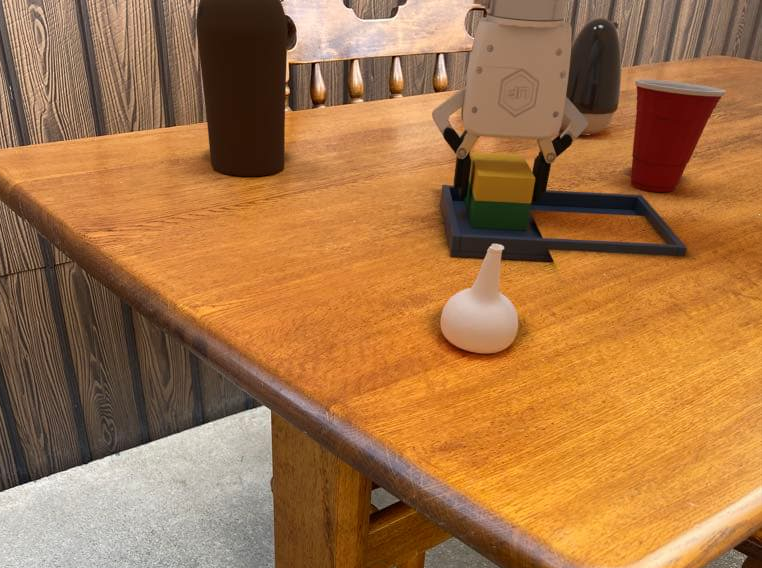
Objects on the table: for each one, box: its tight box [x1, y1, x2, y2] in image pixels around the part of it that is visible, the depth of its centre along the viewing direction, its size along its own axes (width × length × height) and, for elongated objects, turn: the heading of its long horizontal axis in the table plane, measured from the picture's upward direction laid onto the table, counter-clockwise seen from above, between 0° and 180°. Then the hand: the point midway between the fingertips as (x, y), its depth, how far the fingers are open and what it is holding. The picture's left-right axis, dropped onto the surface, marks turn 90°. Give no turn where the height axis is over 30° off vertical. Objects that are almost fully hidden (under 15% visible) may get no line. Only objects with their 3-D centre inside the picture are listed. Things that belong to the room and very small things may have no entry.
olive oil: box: [195, 0, 289, 177], centre depth 93 cm, size 11×11×25 cm
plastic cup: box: [630, 78, 727, 193], centre depth 99 cm, size 11×11×12 cm
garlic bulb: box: [440, 244, 519, 354], centre depth 62 cm, size 6×6×8 cm
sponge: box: [464, 152, 535, 231], centre depth 86 cm, size 9×6×5 cm, turn 179°
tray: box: [439, 184, 688, 263], centre depth 86 cm, size 24×18×2 cm
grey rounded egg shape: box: [560, 17, 622, 135], centre depth 120 cm, size 10×10×15 cm
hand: (498, 195), depth 87 cm, fingers open, 7 cm apart
